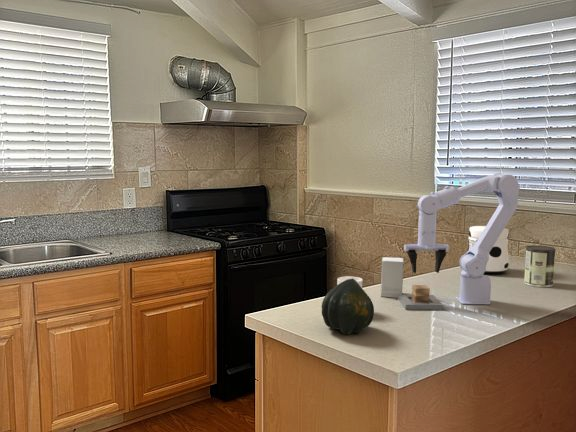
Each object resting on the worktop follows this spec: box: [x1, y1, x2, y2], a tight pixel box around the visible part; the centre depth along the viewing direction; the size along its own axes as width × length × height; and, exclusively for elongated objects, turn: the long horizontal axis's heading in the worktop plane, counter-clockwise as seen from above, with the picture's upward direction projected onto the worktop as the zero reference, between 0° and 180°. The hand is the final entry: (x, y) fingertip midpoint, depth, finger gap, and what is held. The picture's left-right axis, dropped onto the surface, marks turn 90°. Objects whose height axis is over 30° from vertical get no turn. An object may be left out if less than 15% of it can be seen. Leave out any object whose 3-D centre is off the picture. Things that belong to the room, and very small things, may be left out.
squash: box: [321, 278, 375, 336], centre depth 161 cm, size 14×15×15 cm
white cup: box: [336, 275, 364, 289], centre depth 180 cm, size 8×8×10 cm
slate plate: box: [397, 294, 444, 311], centre depth 188 cm, size 12×12×2 cm
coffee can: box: [523, 244, 557, 288], centre depth 216 cm, size 10×10×14 cm
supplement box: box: [380, 256, 405, 299], centre depth 199 cm, size 7×7×13 cm
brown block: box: [411, 284, 431, 303], centre depth 187 cm, size 4×4×5 cm
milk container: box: [466, 225, 510, 274], centre depth 237 cm, size 17×17×18 cm
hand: (425, 272), depth 191 cm, fingers open, 7 cm apart
